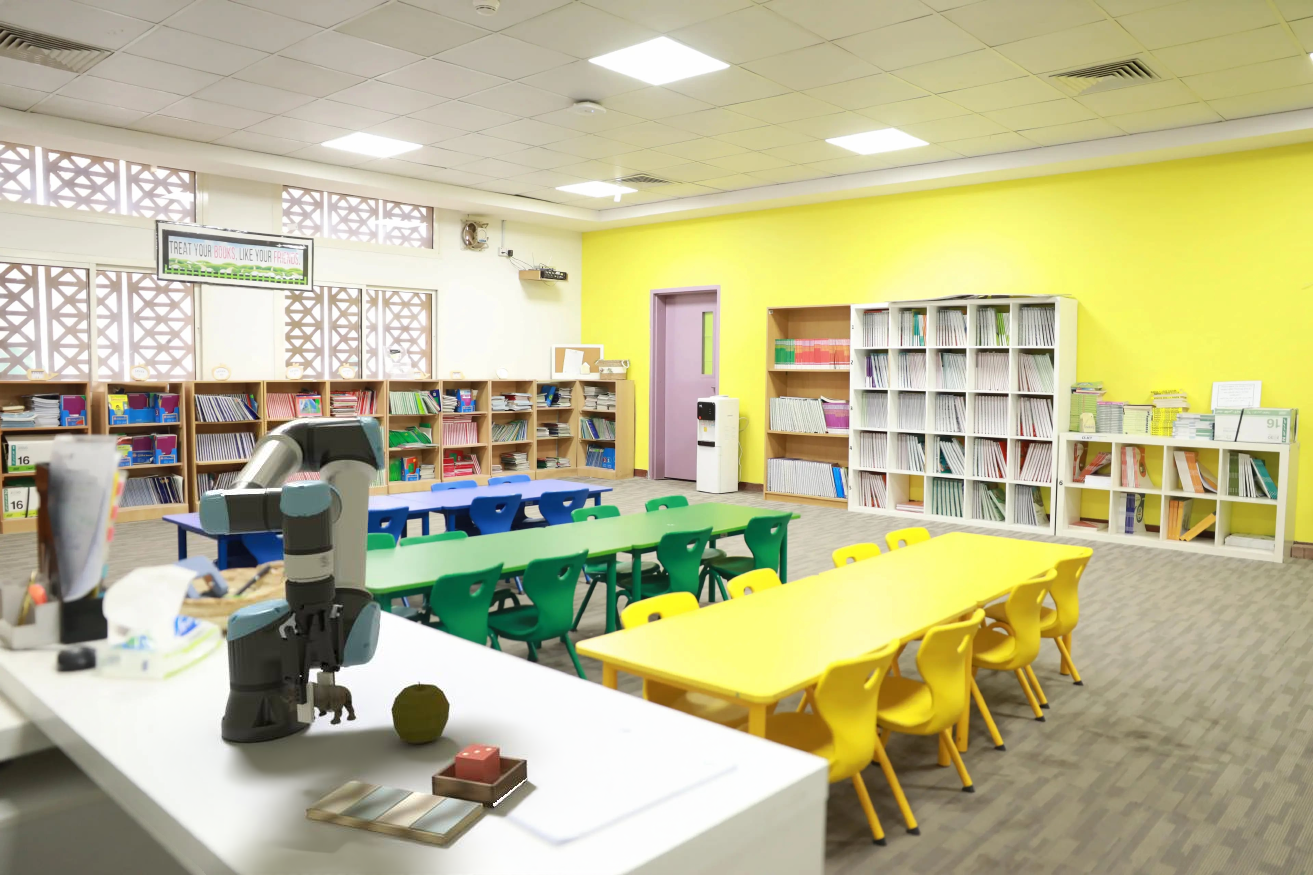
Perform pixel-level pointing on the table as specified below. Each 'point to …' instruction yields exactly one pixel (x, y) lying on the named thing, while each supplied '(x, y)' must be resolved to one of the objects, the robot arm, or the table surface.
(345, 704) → the rhino figurine
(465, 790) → the dice tray
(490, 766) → the die
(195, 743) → the table surface
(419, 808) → the board
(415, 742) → the apple
